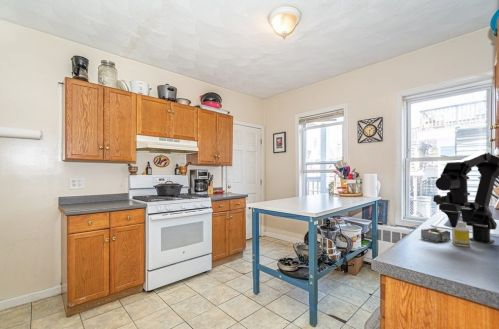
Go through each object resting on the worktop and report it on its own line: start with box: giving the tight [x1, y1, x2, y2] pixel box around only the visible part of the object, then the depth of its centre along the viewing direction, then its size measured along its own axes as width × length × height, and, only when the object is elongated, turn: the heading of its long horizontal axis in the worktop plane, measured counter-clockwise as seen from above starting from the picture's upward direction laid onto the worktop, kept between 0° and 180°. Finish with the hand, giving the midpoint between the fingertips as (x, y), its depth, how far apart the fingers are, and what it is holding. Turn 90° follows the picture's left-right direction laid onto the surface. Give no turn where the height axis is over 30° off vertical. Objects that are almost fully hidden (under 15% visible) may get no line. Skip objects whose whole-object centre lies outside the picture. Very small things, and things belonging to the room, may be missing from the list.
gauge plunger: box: [430, 229, 449, 239], centre depth 108 cm, size 4×8×3 cm, turn 24°
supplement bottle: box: [451, 220, 470, 247], centre depth 99 cm, size 5×5×10 cm
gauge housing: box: [420, 227, 451, 243], centre depth 107 cm, size 10×7×4 cm
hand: (459, 226), depth 99 cm, fingers open, 9 cm apart
